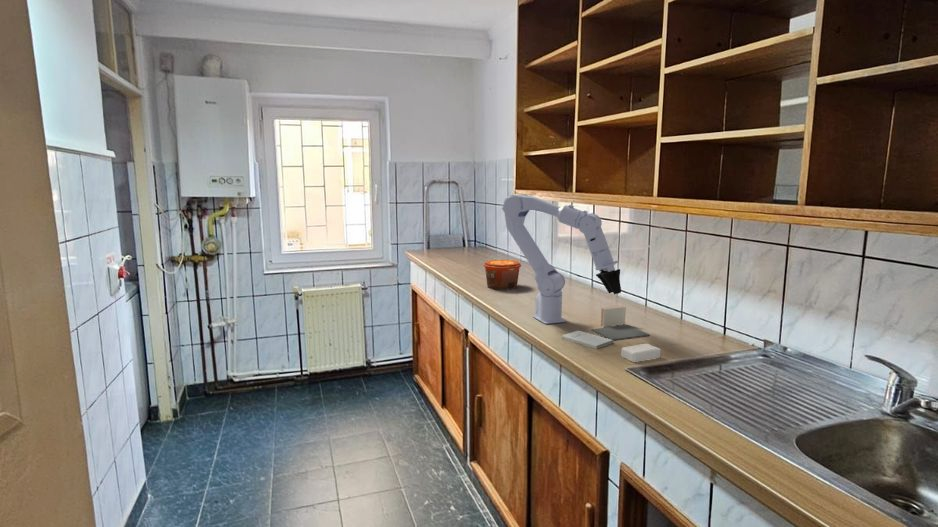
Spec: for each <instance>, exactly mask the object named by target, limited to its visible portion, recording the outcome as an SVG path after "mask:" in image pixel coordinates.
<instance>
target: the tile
mask: <svg viewBox="0 0 938 527" xmlns="http://www.w3.org/2000/svg"><path fill="white" fill-rule="evenodd" d="M626 308H627V307H626V306H625V305H618V306H608V307H601V312H600V314H601V315H600V327H602V326H603V327H602V328H606V327H605V326H610V327H614V326H613V325H619V326H623V324H625V325H626Z"/></svg>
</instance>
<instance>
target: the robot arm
mask: <svg viewBox="0 0 938 527" xmlns="http://www.w3.org/2000/svg"><path fill="white" fill-rule="evenodd" d="M501 209H502V211H503V213H504V219H505V226H506V229H507V231H508V233H509V234H510V236H512V238H513V240H514V242H515V244H516V245H517V246H518V248H519V249H520V251H521V253H522V254H523V255H524V257H525V259H526V260H527V263H528V264H529V265H530V267H531V268H532V270H533V271H534V280H535V282H536V284H537V290H538V291H539V292H538V294H537V295H536V297H535V308H534V309H535V312H534V314H533V315H532V318H534V319H536V320H537V321H539V322H541V323H543V324H545V325H550V324H557V323H558V324H559V323H566V322H567V321H568V320H567V319H565V318H564V317H562V316H563V315H562V314H563V313H562V312H563V291H562V289H563V288H564V287H565V285H566V279H565V276H564V274H562V273H561V272H560V271H558V269H556V268H555V267H554V266H553V265H552V264H550V263H549V262H548V260H547V259H546V257H545V255H544V254H543V252H542V251H541V249H540V248H539V246H538V245H537V243H536V242H535V240H534V239H533V238H534V237H532V236H531V234H530V233H529V231H528V230H527V227H526V225H525V224H524V223H525V220H526V217H527V216H528V214H529V212H530V211H533V210H536V211H538V212H542V213H544V214H548V215H550V216H554V217H556V218H557V220H558V222H559V223H561V224H564V225H567V226H569V227H572V228H574V229H577V230H579V231H580V233H581V234H583V235H584V238H585V242H586V244H587V247H588V250H589V252H590V255H591V258H592V261H593V263H594V266H595V271H599V273H595V276H596V277H597V278H598V279H599V280H600V282H601V283H602V284H603V286H604V288H605V289H606V291H607V292H608V294H611V293H612V294H614V295H617V294H621V293H622V286H621V280H620V276H621V269H620V268H618V269H616V268H615V265H616V264H618V263H619V260H614V258H613V255H612V252H611V250H610V248H609V247H610V246H609V245H608V240H606V236H605V234H604V232H603V228H602V224H603V223H602V222H603V221H602V219H601V217H600V216H599V215H598V214H596V213H593V212H591V213H589V212H588V210H581V209H578V208H575V207H574V205H573V204H568V205H566V204H565V205H563V206H558V205H556V204H554V203H551V202H548V201H546V200H544V199H542V198H539V197H537V196H534V195H528V194H527V193H520V194H510V195H507V197H505V199H504V201H503V205H502V208H501Z"/></svg>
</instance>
